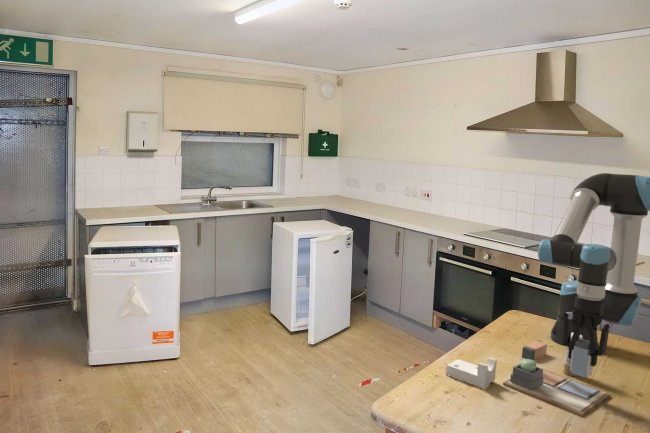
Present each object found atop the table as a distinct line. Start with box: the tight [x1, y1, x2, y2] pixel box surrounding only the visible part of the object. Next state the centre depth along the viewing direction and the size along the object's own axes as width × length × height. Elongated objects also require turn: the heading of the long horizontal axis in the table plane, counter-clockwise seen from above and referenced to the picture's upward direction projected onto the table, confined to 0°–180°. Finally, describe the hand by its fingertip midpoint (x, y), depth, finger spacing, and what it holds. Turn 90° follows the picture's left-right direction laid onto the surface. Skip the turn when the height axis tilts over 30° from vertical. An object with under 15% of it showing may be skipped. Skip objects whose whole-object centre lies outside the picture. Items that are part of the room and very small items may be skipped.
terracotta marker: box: [521, 340, 548, 361], centre depth 191 cm, size 4×4×10 cm
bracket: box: [445, 356, 498, 390], centre depth 170 cm, size 13×7×8 cm, turn 48°
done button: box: [520, 358, 538, 373], centre depth 166 cm, size 4×4×3 cm
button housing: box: [509, 362, 544, 391], centre depth 166 cm, size 7×7×5 cm
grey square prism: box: [571, 339, 591, 379], centre depth 162 cm, size 4×4×10 cm
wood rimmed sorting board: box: [502, 369, 612, 418], centre depth 165 cm, size 20×24×1 cm
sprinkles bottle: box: [562, 333, 583, 377], centre depth 177 cm, size 5×5×14 cm
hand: (580, 372), depth 163 cm, fingers closed on grey square prism, 4 cm apart
